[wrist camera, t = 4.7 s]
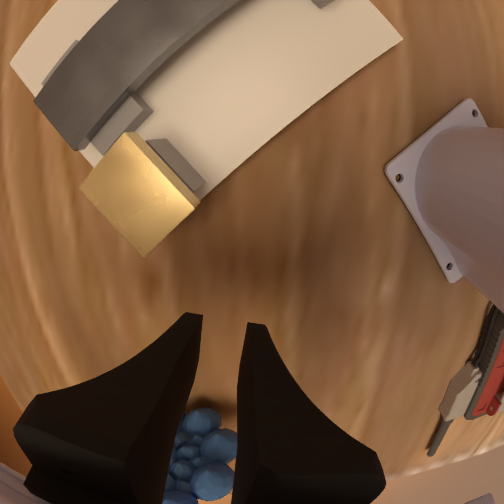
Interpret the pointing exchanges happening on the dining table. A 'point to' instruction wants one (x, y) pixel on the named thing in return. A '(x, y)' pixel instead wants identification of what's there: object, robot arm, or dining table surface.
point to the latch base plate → (221, 77)
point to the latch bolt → (138, 193)
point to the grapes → (200, 459)
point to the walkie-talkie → (477, 380)
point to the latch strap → (118, 61)
